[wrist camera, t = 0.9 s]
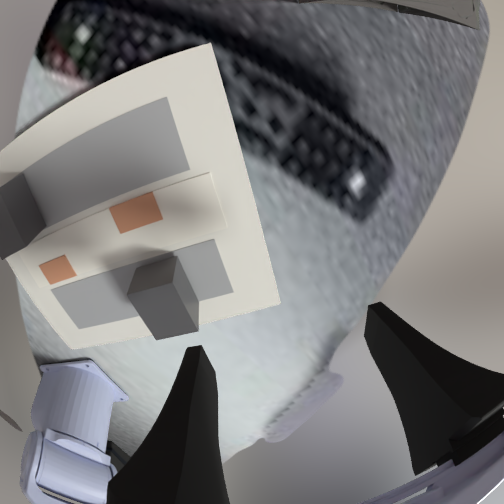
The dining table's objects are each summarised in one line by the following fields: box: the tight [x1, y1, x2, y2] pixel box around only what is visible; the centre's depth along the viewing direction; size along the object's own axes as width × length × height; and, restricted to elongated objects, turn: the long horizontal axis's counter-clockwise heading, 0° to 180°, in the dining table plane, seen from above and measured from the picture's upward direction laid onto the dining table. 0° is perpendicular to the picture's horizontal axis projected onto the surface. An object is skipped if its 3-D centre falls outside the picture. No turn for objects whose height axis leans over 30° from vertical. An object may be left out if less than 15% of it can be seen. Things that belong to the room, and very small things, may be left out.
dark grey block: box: [127, 256, 199, 340], centre depth 17 cm, size 3×4×3 cm
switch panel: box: [0, 43, 281, 350], centre depth 17 cm, size 20×18×2 cm
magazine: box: [105, 441, 131, 472], centre depth 34 cm, size 4×13×15 cm, turn 1°
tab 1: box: [0, 173, 47, 260], centre depth 12 cm, size 3×4×3 cm
